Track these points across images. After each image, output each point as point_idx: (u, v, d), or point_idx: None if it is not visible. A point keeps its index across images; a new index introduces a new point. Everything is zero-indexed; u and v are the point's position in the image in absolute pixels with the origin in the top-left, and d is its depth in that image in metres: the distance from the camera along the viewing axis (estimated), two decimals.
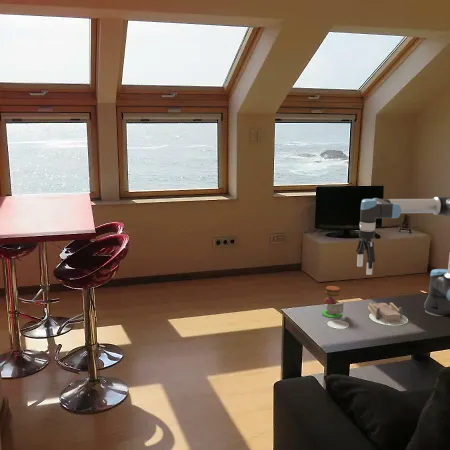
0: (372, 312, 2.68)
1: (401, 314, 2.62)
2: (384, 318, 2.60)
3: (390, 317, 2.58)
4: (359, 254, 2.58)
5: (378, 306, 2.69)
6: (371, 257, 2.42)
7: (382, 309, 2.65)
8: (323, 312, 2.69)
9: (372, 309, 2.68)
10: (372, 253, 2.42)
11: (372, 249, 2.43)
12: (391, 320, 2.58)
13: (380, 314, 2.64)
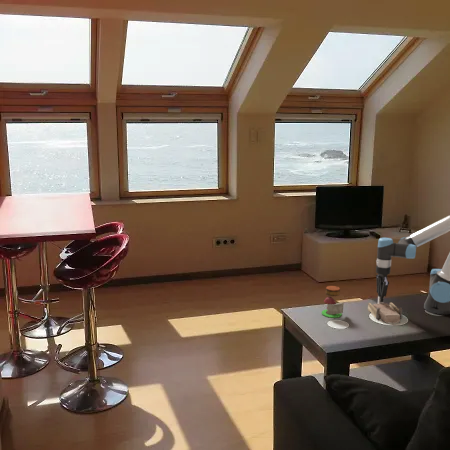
0: (372, 312, 2.68)
1: (401, 314, 2.62)
2: (383, 318, 2.60)
3: (389, 317, 2.57)
4: None
5: (379, 306, 2.68)
6: (383, 293, 2.68)
7: (382, 309, 2.65)
8: (323, 312, 2.69)
9: (372, 309, 2.68)
10: (385, 290, 2.67)
11: (386, 287, 2.67)
12: (390, 320, 2.57)
13: (380, 314, 2.63)
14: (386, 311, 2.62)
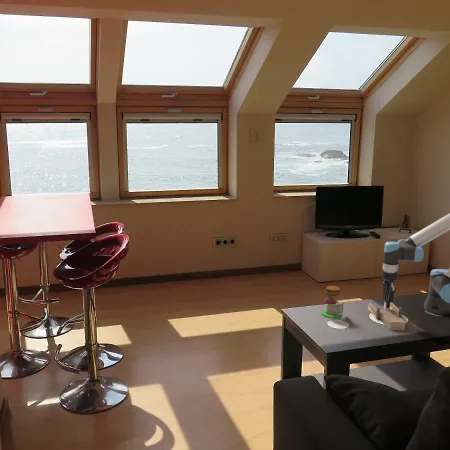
0: (372, 312, 2.68)
1: (401, 314, 2.62)
2: (388, 325, 2.51)
3: (393, 324, 2.49)
4: None
5: (384, 312, 2.60)
6: (390, 299, 2.60)
7: (387, 316, 2.56)
8: (323, 312, 2.69)
9: (372, 309, 2.68)
10: (392, 296, 2.59)
11: (393, 293, 2.58)
12: (394, 327, 2.49)
13: (385, 321, 2.55)
14: (391, 318, 2.54)
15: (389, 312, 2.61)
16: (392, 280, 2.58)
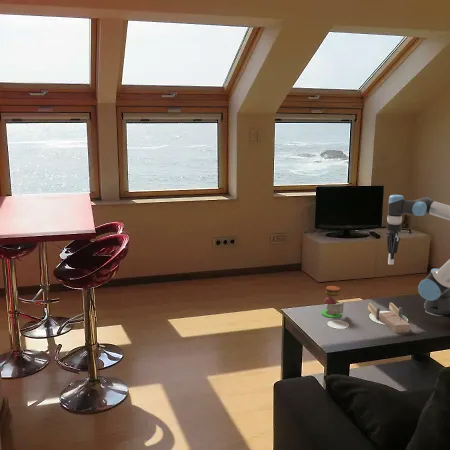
0: (372, 312, 2.68)
1: (401, 314, 2.62)
2: (392, 328, 2.48)
3: (399, 327, 2.45)
4: None
5: (386, 315, 2.57)
6: (394, 250, 2.70)
7: (390, 318, 2.53)
8: (323, 312, 2.69)
9: (372, 309, 2.68)
10: (396, 247, 2.70)
11: (397, 243, 2.69)
12: (400, 330, 2.46)
13: (388, 324, 2.51)
14: (395, 320, 2.51)
15: (390, 315, 2.58)
16: (396, 231, 2.69)
